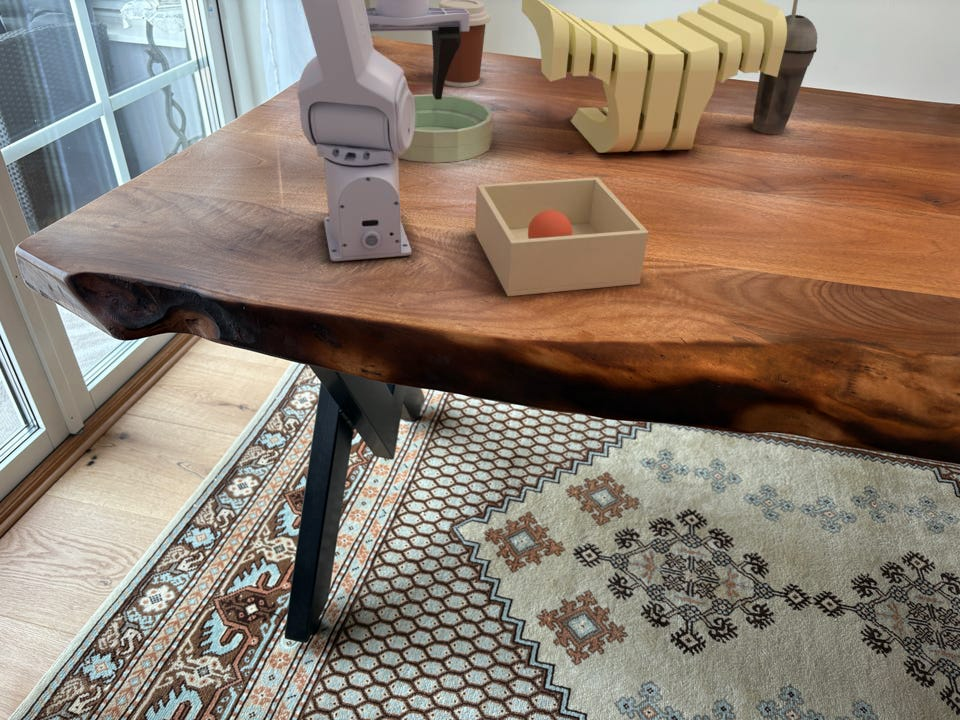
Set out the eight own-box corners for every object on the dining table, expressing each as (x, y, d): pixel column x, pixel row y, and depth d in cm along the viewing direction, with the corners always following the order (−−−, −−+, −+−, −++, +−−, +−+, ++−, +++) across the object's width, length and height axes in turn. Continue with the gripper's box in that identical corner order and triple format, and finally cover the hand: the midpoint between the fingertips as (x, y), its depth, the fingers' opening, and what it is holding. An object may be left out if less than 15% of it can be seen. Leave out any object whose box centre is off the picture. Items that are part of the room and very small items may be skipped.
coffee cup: (421, 80, 127) (420, 1, 120) (457, 70, 132) (459, -6, 125) (462, 92, 122) (464, 11, 115) (498, 81, 128) (502, 3, 121)
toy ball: (581, 254, 76) (575, 213, 73) (539, 267, 75) (531, 226, 73) (567, 238, 79) (560, 198, 77) (526, 250, 79) (519, 211, 77)
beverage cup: (804, 135, 111) (848, -17, 100) (764, 139, 109) (803, -15, 97) (771, 119, 117) (809, -27, 105) (732, 123, 115) (766, -25, 103)
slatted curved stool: (543, 163, 98) (556, 14, 88) (514, 122, 111) (523, -13, 101) (757, 155, 104) (793, 13, 94) (706, 116, 117) (733, -12, 106)
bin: (639, 284, 74) (649, 232, 71) (507, 296, 71) (511, 242, 68) (591, 224, 84) (598, 177, 81) (474, 233, 81) (476, 184, 78)
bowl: (503, 163, 98) (505, 129, 95) (384, 170, 95) (383, 134, 92) (475, 124, 110) (476, 92, 107) (369, 129, 107) (368, 96, 104)
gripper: (461, -41, 85) (458, 85, 92) (327, -41, 82) (337, 89, 89) (475, -29, 79) (471, 104, 87) (332, -29, 76) (342, 108, 84)
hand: (404, 98), depth 88 cm, fingers open, 7 cm apart
